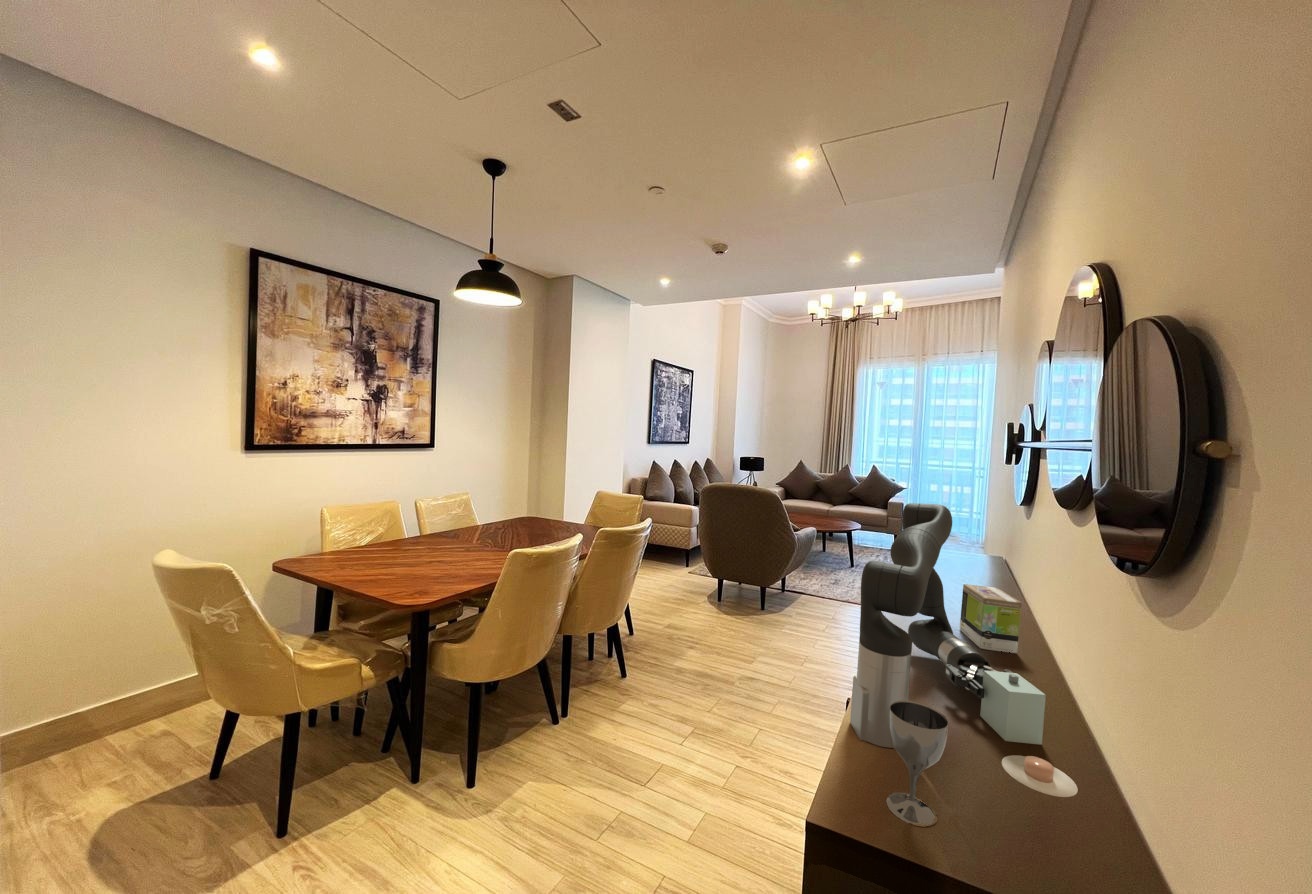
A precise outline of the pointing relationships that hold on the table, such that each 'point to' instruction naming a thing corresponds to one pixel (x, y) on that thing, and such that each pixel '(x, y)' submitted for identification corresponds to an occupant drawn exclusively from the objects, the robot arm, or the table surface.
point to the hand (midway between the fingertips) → (1004, 696)
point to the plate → (1058, 787)
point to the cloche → (1013, 707)
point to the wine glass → (915, 753)
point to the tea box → (990, 618)
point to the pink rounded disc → (1039, 769)
